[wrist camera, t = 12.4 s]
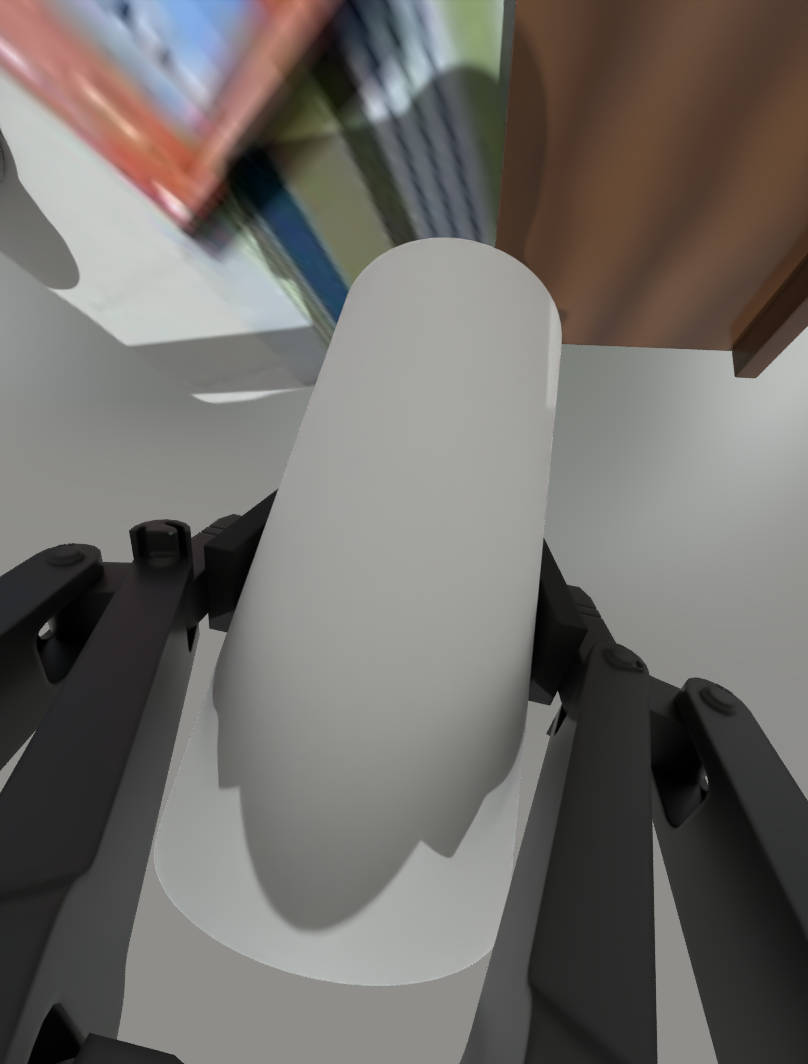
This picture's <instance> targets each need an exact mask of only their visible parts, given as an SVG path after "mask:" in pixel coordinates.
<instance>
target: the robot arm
mask: <svg viewBox="0 0 808 1064" xmlns="http://www.w3.org/2000/svg"><path fill="white" fill-rule="evenodd" d="M3 170H4V163H3V156H2V151H1V148H0V181H1V179H2V176H3ZM278 489H279V488H278ZM278 489H277V490H276V491H274V492H273V493H272V494H271V495H269V496H268V497H267V498H266V499H264V500H263V501H261V502H260V503H259V504H257V505H256V506H255V507H253V508H252V509H251V510H250V511H248V512H247V513H246V514H244V515H243V516H240V515H235V514H232V515H229V516H226V517H223V518H220V519H218V520H217V521H215V522H214V523H212V524H211V525H210V526H209V527H207V528H205V529H204V530H202V532H201V533H200V532H199V533H198V534H197V535H195V536H194V537H192V538H191V531H190V526H188V525H187V524H186V523H183V522H180V521H177V520H168V519H166V520H153V521H149V522H144V523H141V524H139V525H136V526H134V527H133V528H132V529H131V530H129V533H130V539H131V544H132V551H133V557H134V560H133V562H132V563H118V562H103V561H102V556H101V552H100V550H99V549H98V548H97V547H95V546H92V545H87V544H74V543H72V544H68V545H66V544H64V545H58V546H56V547H53V548H49V549H46V550H44V551H42V552H40V553H37V554H36V555H34V556H33V557H31V558H29V559H28V560H26V561H25V562H23V563H21V564H20V565H18V566H16V567H15V568H13V569H12V570H10V571H9V572H7V573H5V574H4V575H2V576H1V577H0V770H1V769H2V768H3V767H4V766H5V765H6V764H7V762H8V761H9V760H10V759H11V758H12V757H13V756H14V754H15V753H16V752H17V751H18V750H19V749H20V748H21V746H22V745H23V744H24V743H25V742H26V741H27V739H28V738H29V737H30V736H31V735H32V734H33V733H34V732H35V731H36V732H35V733H34V735H33V737H32V739H31V740H30V742H29V744H28V746H27V747H26V749H25V751H24V753H23V755H22V756H21V758H20V760H19V761H18V763H17V765H16V767H15V768H14V770H13V772H12V774H11V776H10V777H9V779H8V781H7V783H6V784H5V786H4V788H3V789H2V791H1V793H0V1064H184V1063H182V1062H181V1061H180V1060H179V1059H178V1058H177V1057H176V1056H175V1055H172V1054H168V1053H165V1052H161V1051H157V1050H153V1049H150V1048H146V1047H142V1046H138V1045H134V1044H131V1043H127V1042H123V1041H119V1040H117V1035H118V1029H119V1024H120V1018H121V1012H122V1006H123V998H124V985H125V966H126V958H127V952H128V946H129V941H130V937H131V933H132V928H133V924H134V919H135V915H136V910H137V906H138V902H139V897H140V892H141V889H142V884H143V880H144V875H145V871H146V867H147V862H148V858H149V853H150V849H151V845H152V840H153V836H154V832H155V827H156V823H157V819H158V814H159V809H160V805H161V801H162V796H163V792H164V788H165V783H166V779H167V775H168V770H169V766H170V762H171V757H172V753H173V748H174V744H175V740H176V735H177V731H178V726H179V722H180V718H181V713H182V709H183V705H184V700H185V696H186V691H187V687H188V683H189V678H190V674H191V670H192V665H193V661H194V656H195V652H196V648H197V643H198V638H199V622H200V621H201V620H202V619H203V618H204V616H205V615H206V614H207V613H208V616H209V628H210V629H214V630H218V631H223V632H228V629H229V626H230V623H231V621H232V618H233V615H234V612H235V609H236V607H237V604H238V601H239V598H240V595H241V593H242V590H243V587H244V584H245V581H246V578H247V576H248V573H249V570H250V567H251V564H252V562H253V559H254V556H255V553H256V550H257V548H258V545H259V542H260V539H261V536H262V533H263V531H264V528H265V525H266V522H267V519H268V517H269V514H270V511H271V508H272V505H273V503H274V500H275V497H276V494H277V491H278ZM46 622H48V624H49V627H50V629H49V630H48V631H47V632H46V633H45V634H44V635H42V636H41V637H39V635H38V633H39V631H40V629H41V628H42V627H43V626H44V625H45V623H46ZM557 691H558V692H559V695H560V699H561V702H562V705H561V707H560V709H559V711H558V713H557V714H556V716H555V718H554V720H553V722H552V724H551V726H550V728H549V730H548V731H547V734H548V735H549V736H550V740H549V743H548V747H547V751H546V754H545V758H544V762H543V765H542V769H541V773H540V777H539V780H538V784H537V788H536V791H535V795H534V799H533V803H532V806H531V810H530V814H529V817H528V821H527V825H526V829H525V832H524V836H523V840H522V844H521V847H520V851H519V855H518V859H517V862H516V866H515V869H514V874H513V877H512V881H511V884H510V888H509V892H508V895H507V899H506V903H505V907H504V910H503V914H502V918H501V921H500V925H499V929H498V933H497V936H496V940H495V944H494V947H493V951H492V955H491V959H490V962H489V966H488V970H487V973H486V977H485V981H484V985H483V988H482V992H481V996H480V999H479V1003H478V1007H477V1011H476V1014H475V1018H474V1022H473V1026H472V1029H471V1032H470V1036H469V1039H468V1043H467V1045H466V1048H465V1051H464V1054H463V1056H462V1059H461V1061H460V1064H657V1020H656V973H655V929H654V886H653V885H654V884H653V883H654V882H653V834H652V819H653V823H654V827H655V830H656V834H657V838H658V841H659V845H660V848H661V853H662V856H663V860H664V864H665V867H666V871H667V875H668V879H669V882H670V886H671V890H672V893H673V897H674V901H675V905H676V908H677V912H678V916H679V919H680V923H681V927H682V931H683V934H684V938H685V942H686V945H687V949H688V953H689V956H690V960H691V964H692V968H693V972H694V975H695V979H696V983H697V987H698V990H699V994H700V997H701V1001H702V1005H703V1009H704V1012H705V1016H706V1020H707V1024H708V1027H709V1031H710V1035H711V1039H712V1042H713V1046H714V1050H715V1053H716V1057H717V1061H718V1064H808V801H807V799H806V798H805V796H804V795H803V793H802V792H801V790H800V788H799V787H798V785H797V784H796V782H795V780H794V779H793V777H792V776H791V774H790V773H789V771H788V769H787V768H786V766H785V765H784V763H783V762H782V760H781V759H780V757H779V756H778V754H777V752H776V751H775V749H774V748H773V746H772V744H771V743H770V741H769V740H768V738H767V737H766V735H765V734H764V732H763V730H762V729H761V727H760V726H759V724H758V723H757V721H756V719H755V718H754V716H753V715H752V713H751V712H750V710H749V709H748V708H747V707H746V706H745V704H744V703H743V702H742V701H741V700H739V699H738V698H737V697H736V696H735V695H733V694H732V692H730V691H729V690H727V689H724V687H722V686H720V685H718V684H715V683H713V682H711V681H708V680H705V679H701V678H690V679H688V680H687V681H686V683H685V684H684V685H683V687H682V688H681V689H680V688H677V687H675V686H673V685H670V684H668V683H665V682H663V681H661V680H659V679H656V678H654V677H652V676H650V675H649V671H648V668H647V666H646V664H645V663H644V662H643V661H642V659H641V658H640V657H639V656H637V655H636V654H635V653H634V652H632V651H631V650H629V649H627V648H626V647H624V646H622V645H620V644H616V642H615V640H614V639H613V637H612V635H611V633H610V632H609V630H608V628H607V626H606V624H605V623H604V621H603V619H601V615H600V614H599V612H598V610H596V607H595V605H594V603H593V601H592V599H591V598H590V597H589V596H588V595H587V594H586V593H585V592H584V591H583V590H582V589H581V588H580V587H575V586H570V585H567V584H566V582H565V580H564V578H563V576H562V574H561V572H560V570H559V568H558V566H557V564H556V562H555V560H554V558H553V556H552V554H551V552H550V549H549V547H548V545H547V543H546V541H545V539H544V537H543V548H542V559H541V569H540V580H539V591H538V601H537V612H536V623H535V633H534V644H533V655H532V665H531V676H530V687H529V697H528V701H533V702H537V703H541V704H546V705H551V703H552V701H553V698H554V697H555V695H556V693H557ZM36 729H37V730H36ZM706 775H707V778H708V784H707V782H706V780H705V776H706Z"/></svg>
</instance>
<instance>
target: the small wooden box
mask: <svg viewBox="0 0 808 1064" xmlns="http://www.w3.org/2000/svg"><path fill="white" fill-rule="evenodd" d="M495 248H496V249H499V250H501V251H503V252H505V253H507V254H508V255H510V256H512V257H514V258H515V259H517V260H518V261H519V262H521V263H522V264H524V265H525V266H526V267H527V268H528V269H529V270H531V271H532V272H533V273H534V274H535V275H536V276H537V277H538V279H539V280H540V281H541V282H542V283H543V285H544V286H545V287H546V289H547V290H548V292H549V293H550V295H551V297H552V299H553V301H554V303H555V305H556V308H557V311H558V314H559V318H560V322H561V330H562V344H577V345H601V346H626V347H651V348H674V349H675V348H676V349H698V350H700V349H701V350H722V351H732V356H733V364H734V374H735V377H741V378H756V377H758V376H759V375H760V373H762V372H763V371H764V369H765V368H766V367H767V366H768V365H769V364H770V363H771V362H772V361H773V360H774V359H775V358H776V357H777V356H778V355H779V354H780V353H781V352H782V351H783V350H784V349H785V348H786V347H787V346H788V345H789V344H790V343H791V342H792V341H793V340H794V339H795V338H796V337H797V336H798V335H799V334H800V333H801V332H802V331H803V330H804V329H805V328H806V327H807V326H808V0H516V3H515V15H514V27H513V39H512V51H511V63H510V75H509V87H508V99H507V111H506V123H505V135H504V147H503V159H502V171H501V183H500V195H499V206H498V218H497V230H496V242H495Z"/></svg>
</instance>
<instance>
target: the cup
mask: <svg viewBox="0 0 808 1064" xmlns="http://www.w3.org/2000/svg"><path fill="white" fill-rule="evenodd" d="M561 345H562V330H561V322H560V318H559V314H558V311H557V308H556V305H555V303H554V301H553V299H552V297H551V295H550V293H549V292H548V290H547V289H546V287H545V286H544V285H543V283H542V282H541V281H540V280H539V279H538V277H537V276H536V275H535V274H534V273H533V272H532V271H531V270H529V269H528V268H527V267H526V266H525V265H524V264H522V263H521V262H519V261H518V260H517V259H515V258H514V257H512V256H510V255H508V254H507V253H505V252H503V251H501V250H499V249H496V248H494V247H492V246H489V245H486V244H483V243H479V242H476V241H471V240H466V239H460V238H447V237H445V238H428V239H421V240H416V241H412V242H408V243H405V244H402V245H400V246H397V247H394V248H393V249H391V250H389V251H387V252H385V253H383V254H382V255H380V256H379V257H377V258H376V259H374V260H373V261H372V262H371V263H370V264H369V265H367V266H366V267H365V268H364V270H363V271H362V272H361V273H360V274H359V275H358V277H357V278H356V280H355V281H354V283H353V284H352V286H351V288H350V290H349V292H348V295H347V297H346V300H345V303H344V306H343V309H342V311H341V314H340V317H339V320H338V323H337V326H336V328H335V331H334V334H333V337H332V340H331V342H330V345H329V348H328V351H327V354H326V356H325V359H324V362H323V365H322V368H321V370H320V373H319V376H318V379H317V382H316V385H315V387H314V390H313V393H312V396H311V399H310V402H309V404H308V407H307V410H306V413H305V415H304V418H303V421H302V424H301V427H300V430H299V432H298V435H297V438H296V441H295V444H294V446H293V449H292V452H291V455H290V458H289V460H288V463H287V466H286V469H285V472H284V474H283V477H282V480H281V483H280V486H279V489H278V491H277V494H276V497H275V500H274V503H273V505H272V508H271V511H270V514H269V517H268V519H267V522H266V525H265V528H264V531H263V533H262V536H261V539H260V542H259V545H258V548H257V550H256V553H255V556H254V559H253V562H252V564H251V567H250V570H249V573H248V576H247V578H246V581H245V584H244V587H243V590H242V593H241V595H240V598H239V601H238V604H237V607H236V609H235V612H234V615H233V618H232V621H231V623H230V626H229V629H228V632H227V635H226V637H225V640H224V643H223V646H222V649H221V652H220V654H219V657H218V660H217V663H216V666H215V668H214V671H213V674H212V677H211V680H210V683H209V685H208V688H207V691H206V694H205V697H204V699H203V702H202V705H201V708H200V711H199V714H198V716H197V719H196V722H195V725H194V728H193V730H192V733H191V736H190V739H189V742H188V745H187V747H186V750H185V753H184V756H183V759H182V762H181V764H180V767H179V770H178V773H177V776H176V779H175V781H174V784H173V787H172V790H171V793H170V796H169V798H168V802H167V804H166V807H165V810H164V813H163V815H162V818H161V821H160V825H159V829H158V833H157V837H156V841H155V846H154V865H155V869H156V873H157V877H158V879H159V881H160V883H161V885H162V887H163V889H164V891H165V892H166V894H167V895H168V897H169V898H170V900H171V901H172V903H173V904H174V905H175V906H176V907H177V908H178V909H179V910H180V911H181V913H182V914H183V915H184V916H186V917H187V918H188V919H189V920H190V921H191V922H192V923H193V924H195V925H196V926H197V927H198V928H199V929H201V930H202V931H204V932H205V933H207V934H208V935H209V936H211V937H212V938H214V939H215V940H217V941H218V942H220V943H222V944H224V945H226V946H227V947H229V948H231V949H233V950H234V951H236V952H238V953H240V954H242V955H245V956H247V957H249V958H252V959H254V960H256V961H258V962H260V963H263V964H266V965H269V966H271V967H274V968H278V969H281V970H283V971H286V972H290V973H293V974H297V975H301V976H305V977H309V978H313V979H319V980H324V981H330V982H336V983H342V984H354V985H366V986H393V985H404V984H414V983H419V982H425V981H430V980H435V979H439V978H442V977H445V976H448V975H451V974H454V973H456V972H459V971H460V970H463V969H465V968H467V967H469V966H471V965H472V964H474V963H475V962H477V961H478V960H480V959H481V958H482V957H484V956H485V955H486V954H487V953H488V952H489V951H490V950H491V949H492V948H493V946H494V944H495V940H496V936H497V933H498V929H499V925H500V921H501V918H502V914H503V910H504V907H505V903H506V899H507V895H508V892H509V888H510V884H511V875H512V865H513V855H514V844H515V834H516V823H517V813H518V803H519V793H520V781H521V771H522V760H523V751H524V740H525V729H526V719H527V718H526V717H527V708H528V697H529V687H530V676H531V665H532V655H533V644H534V633H535V623H536V612H537V601H538V591H539V580H540V569H541V559H542V548H543V536H544V527H545V516H546V505H547V494H548V483H549V473H550V462H551V452H552V441H553V430H554V420H555V409H556V398H557V388H558V377H559V365H560V356H561Z"/></svg>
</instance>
